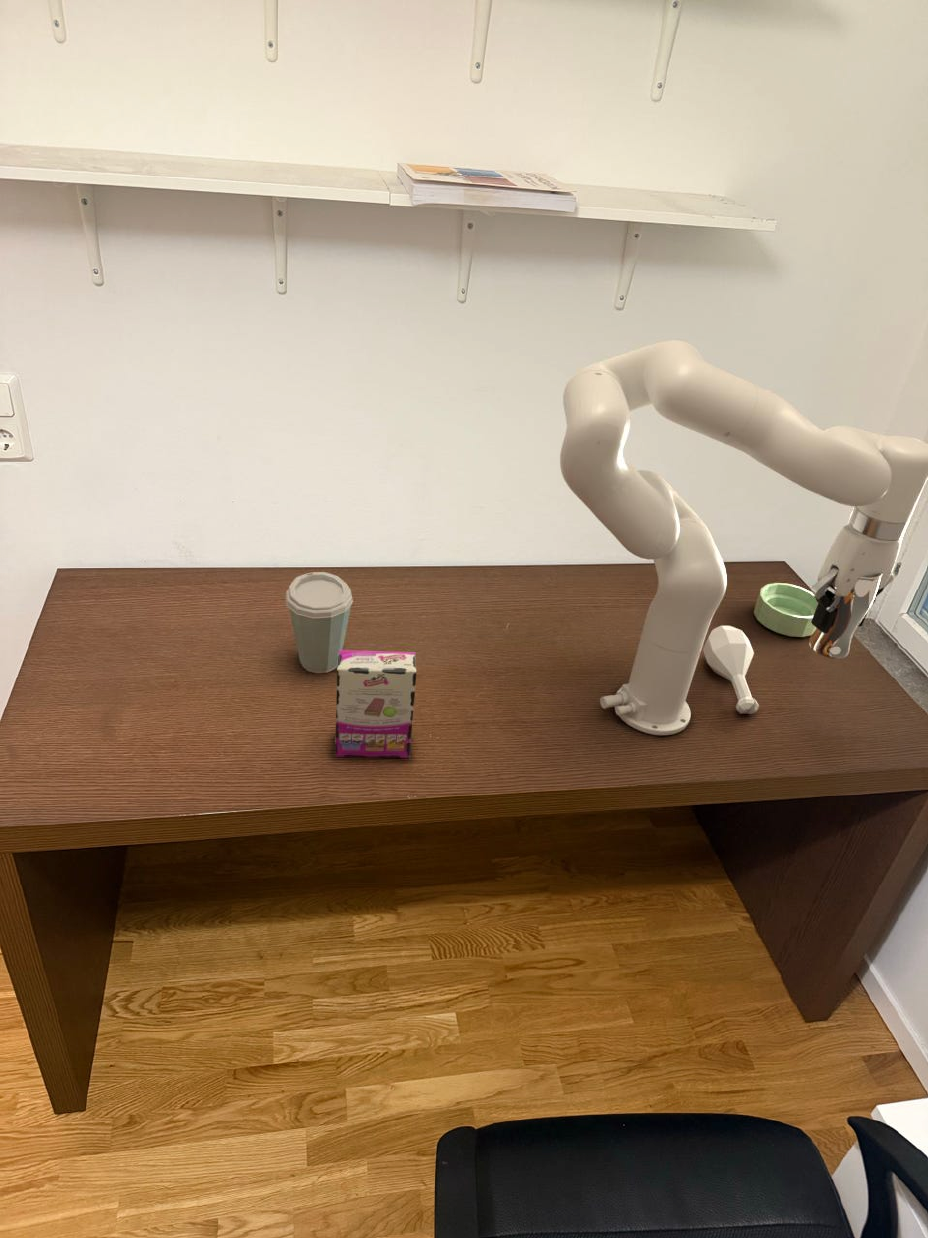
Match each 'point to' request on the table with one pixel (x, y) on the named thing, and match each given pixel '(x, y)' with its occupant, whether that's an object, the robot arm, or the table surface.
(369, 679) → the candy bar box
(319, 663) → the disposable coffee cup
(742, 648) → the chicken leg
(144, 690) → the table surface
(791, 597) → the sage bowl
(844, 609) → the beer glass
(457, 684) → the table surface
